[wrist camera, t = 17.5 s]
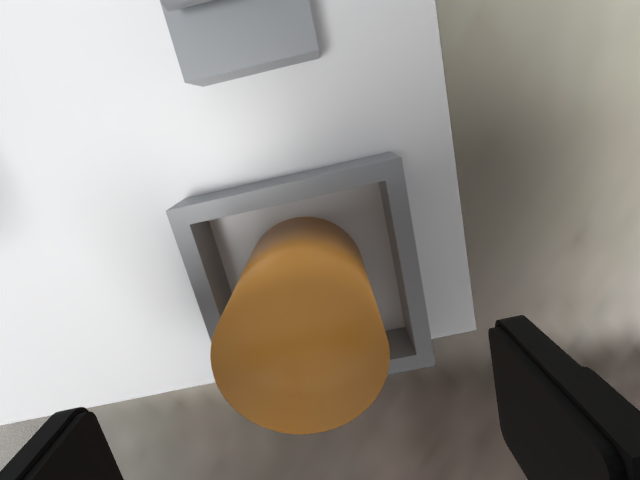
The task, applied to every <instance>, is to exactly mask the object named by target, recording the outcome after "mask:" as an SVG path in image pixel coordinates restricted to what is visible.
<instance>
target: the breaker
mask: <svg viewBox="0 0 640 480" xmlns="http://www.w3.org/2000/svg"><path fill="white" fill-rule="evenodd" d="M160 1H161V3H162V5H163V6H164V8H165V9H166V10H167V11H174V10H177V9H181V8H185V7H189V6H193V5H197V4H201V3H205V2H208V1H212V0H160Z"/></svg>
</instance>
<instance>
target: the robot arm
mask: <svg viewBox="0 0 640 480" xmlns="http://www.w3.org/2000/svg"><path fill="white" fill-rule="evenodd" d="M488 333H489V342H490V350H491V357H492V365H493V373H494V380H495V388H496V396H497V404H498V411H499V419H500V426H501V431H502V434H503V437H504V440H505V442H506V444H507V446H508V447H509V449H510V451H511V452H512V454H513V456H514V457H515V459H516V461H517V462H518V464H519V466H520V467H521V469H522V470H523V472H524V474H525V475H526V477H527V479H528V480H640V411H639V410H638V409H637V408H635V407H634V406H633V405H632V404H631V403H630V402H628V401H627V400H626V399H625V398H624V397H623V396H622V395H620V394H619V393H618V392H617V391H616V390H615V389H614V388H612V387H611V386H610V385H609V384H608V383H607V382H605V381H604V380H603V379H602V378H601V377H600V376H599V375H597V374H596V373H595V372H594V371H592V370H591V369H589V368H588V367H584V366H580V365H579V364H578V363H577V362H576V361H574V360H573V359H572V358H571V357H570V356H569V355H568V354H567V353H565V352H564V351H563V350H562V349H561V348H560V347H559V346H558V345H556V344H555V343H554V342H553V341H552V340H551V339H550V338H549V337H548V336H546V335H545V334H544V333H543V332H542V331H541V330H540V329H539V328H537V327H536V326H535V325H534V324H533V323H532V322H531V321H530V320H528V319H527V318H526V317H525V316H523V315H520V316H515V317H510V318H505V319H501V320H497V321H496V323H495V328H490V329H489V332H488ZM0 480H123V477H122V475H121V473H120V470H119V468H118V466H117V464H116V461H115V459H114V457H113V454H112V452H111V450H110V447H109V445H108V443H107V441H106V438H105V436H104V434H103V431H102V429H101V427H100V425H99V422H98V420H97V418H96V416H95V414H94V413H93V412H89V411H88V410H87V409H86V408H84V407H78V408H73V409H68V410H63V411H59V412H56V413H54V414H53V415H52V416H51V417H50V418H49V419H48V420H47V421H46V422H45V423H44V425H43V426H42V427H41V428H40V429H39V430H38V431H37V432H36V433H35V434H34V435H33V437H32V438H31V439H30V440H29V441H28V442H27V443H26V444H25V445H24V446H23V447H22V449H21V450H20V451H19V452H18V453H17V454H16V455H15V456H14V457H13V458H12V459H11V461H10V462H9V463H8V464H7V465H6V466H5V467H4V468H3V469H2V470H1V471H0Z"/></svg>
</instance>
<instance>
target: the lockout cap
mask: <svg viewBox="0 0 640 480" xmlns="http://www.w3.org/2000/svg"><path fill="white" fill-rule="evenodd" d="M210 360H211V368H212V372H213V376H214V379H215V381H216V384H217V386H218V388H219V390H220V391H221V393H222V395H223V396H224V398H225V399H226V400H227V401H228V402H229V404H230V405H231V406H232V407H233V408H234V409H235V410H236V411H237V412H238V413H240V414H241V415H243V416H244V417H245V418H247V419H248V420H250V421H252V422H254V423H255V424H257V425H260V426H262V427H264V428H267V429H270V430H273V431H277V432H282V433H287V434H314V433H321V432H325V431H328V430H332V429H335V428H337V427H340V426H342V425H344V424H346V423H348V422H350V421H352V420H353V419H355V418H356V417H358V416H359V415H360V414H362V413H363V412H364V411H365V410H366V409H367V408H368V407H369V406H370V405H371V404H372V403H373V402H374V401H375V399H376V398H377V396H378V395H379V393H380V392H381V390H382V388H383V385H384V383H385V381H386V378H387V375H388V370H389V364H390V349H389V342H388V339H387V335H386V332H385V329H384V326H383V322H382V319H381V316H380V313H379V310H378V307H377V304H376V301H375V297H374V294H373V291H372V288H371V285H370V282H369V279H368V275H367V272H366V269H365V266H364V263H363V260H362V257H361V254H360V251H359V249H358V247H357V245H356V243H355V242H354V240H353V239H352V238H351V237H350V235H349V234H348V233H347V232H345V231H344V230H343V229H342V228H340V227H339V226H338V225H336V224H334V223H332V222H330V221H327V220H324V219H321V218H316V217H296V218H291V219H288V220H285V221H282V222H280V223H278V224H276V225H275V226H273V227H271V228H270V229H269V230H268V231H267V232H265V234H264V235H263V236H262V237H261V238H260V239H259V241H258V242H257V244H256V246H255V248H254V250H253V252H252V254H251V256H250V258H249V260H248V262H247V264H246V266H245V268H244V270H243V272H242V274H241V277H240V279H239V281H238V283H237V285H236V287H235V289H234V291H233V293H232V295H231V297H230V299H229V301H228V304H227V306H226V308H225V310H224V312H223V314H222V316H221V318H220V320H219V322H218V324H217V326H216V329H215V332H214V335H213V338H212V343H211V351H210Z"/></svg>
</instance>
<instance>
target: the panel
mask: <svg viewBox="0 0 640 480" xmlns="http://www.w3.org/2000/svg"><path fill="white" fill-rule="evenodd" d="M296 217H316V218H321V219H324V220H327V221H330V222H332V223H334V224H336V225H338V226H339V227H340V228H342V229H343V230H344V231H345V232H347V233H348V234H349V235H350V237H351V238H352V239H353V240H354V242H355V243H356V245H357V247H358V249H359V251H360V254H361V257H362V260H363V263H364V266H365V269H366V272H367V275H368V279H369V282H370V285H371V288H372V291H373V294H374V297H375V301H376V304H377V307H378V310H379V313H380V316H381V319H382V322H383V326H384V329H385V332H386V335H387V339H388V342H389V349H390V364H389V370H388V375H390V374H395V373H401V372H406V371H411V370H416V369H421V368H426V367H431V366H436V364H435V358H434V352H433V346H432V340H431V339H435V338H440V337H445V336H450V335H455V334H460V333H465V332H470V331H475V330H476V322H475V314H474V306H473V298H472V290H471V282H470V274H469V266H468V258H467V251H466V243H465V235H464V227H463V219H462V211H461V203H460V195H459V187H458V179H457V171H456V163H455V155H454V147H453V139H452V131H451V123H450V115H449V107H448V99H447V91H446V83H445V75H444V67H443V59H442V51H441V43H440V35H439V28H438V20H437V12H436V4H435V0H212V1H208V2H205V3H201V4H197V5H193V6H189V7H185V8H181V9H177V10H174V11H167V10H166V9H165V8H164V6H163V5H162V3H161V1H160V0H0V425H4V424H9V423H14V422H19V421H24V420H29V419H34V418H39V417H44V416H49V415H53V414H54V413H56V412H59V411H63V410H68V409H73V408H78V407H84V408H89V407H94V406H99V405H104V404H109V403H114V402H119V401H124V400H129V399H134V398H139V397H144V396H149V395H154V394H159V393H164V392H169V391H174V390H179V389H184V388H189V387H194V386H199V385H204V384H209V383H214V382H216V381H215V379H214V376H213V372H212V368H211V360H210V351H211V343H212V338H213V335H214V332H215V329H216V326H217V324H218V322H219V320H220V318H221V316H222V314H223V312H224V310H225V308H226V306H227V304H228V301H229V299H230V297H231V295H232V293H233V291H234V289H235V287H236V285H237V283H238V281H239V279H240V277H241V274H242V272H243V270H244V268H245V266H246V264H247V262H248V260H249V258H250V256H251V254H252V252H253V250H254V248H255V246H256V244H257V242H258V241H259V239H260V238H261V237H262V236H263V235H264V234H265V232H267V231H268V230H269V229H270V228H271V227H273V226H275V225H276V224H278V223H280V222H282V221H285V220H288V219H291V218H296Z"/></svg>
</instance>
